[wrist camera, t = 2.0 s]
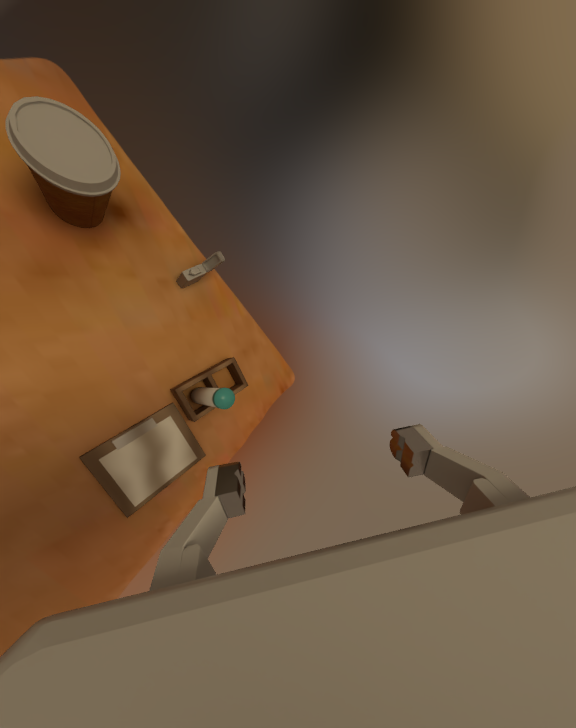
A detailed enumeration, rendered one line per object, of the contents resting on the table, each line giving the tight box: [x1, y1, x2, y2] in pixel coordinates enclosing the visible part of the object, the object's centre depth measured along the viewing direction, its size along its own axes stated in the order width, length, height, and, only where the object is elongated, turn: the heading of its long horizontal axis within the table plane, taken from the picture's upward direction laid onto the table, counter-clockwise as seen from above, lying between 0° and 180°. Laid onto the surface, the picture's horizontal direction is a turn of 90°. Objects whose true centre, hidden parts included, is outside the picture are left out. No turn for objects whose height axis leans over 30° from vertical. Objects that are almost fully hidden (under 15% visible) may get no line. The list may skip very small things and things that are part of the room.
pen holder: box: [170, 357, 248, 422], centre depth 44 cm, size 12×7×4 cm, turn 121°
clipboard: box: [80, 403, 206, 518], centre depth 38 cm, size 14×12×2 cm
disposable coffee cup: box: [6, 97, 120, 228], centre depth 30 cm, size 10×10×12 cm
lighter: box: [176, 252, 225, 288], centre depth 42 cm, size 7×2×8 cm, turn 129°
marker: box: [191, 387, 235, 409], centre depth 39 cm, size 3×3×14 cm
